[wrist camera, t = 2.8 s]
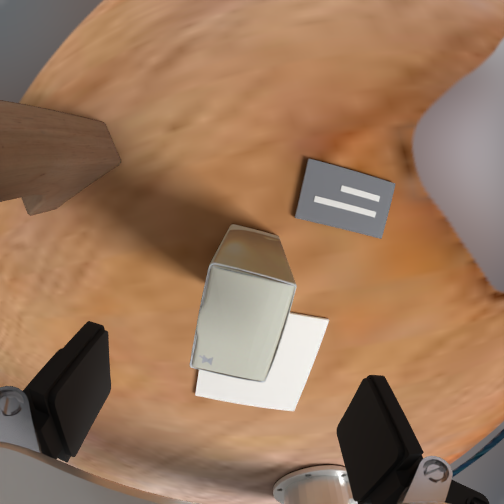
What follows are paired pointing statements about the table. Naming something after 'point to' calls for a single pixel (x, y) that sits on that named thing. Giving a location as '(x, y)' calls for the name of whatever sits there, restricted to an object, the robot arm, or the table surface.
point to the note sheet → (273, 370)
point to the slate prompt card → (344, 199)
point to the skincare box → (243, 306)
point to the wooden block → (50, 155)
